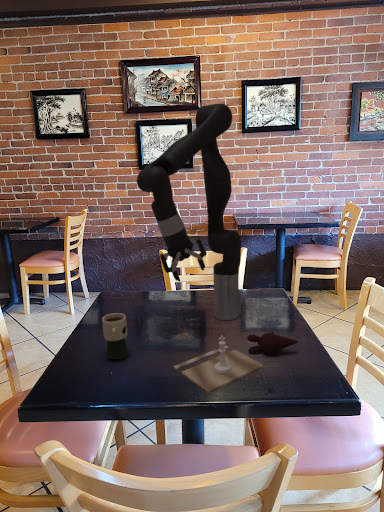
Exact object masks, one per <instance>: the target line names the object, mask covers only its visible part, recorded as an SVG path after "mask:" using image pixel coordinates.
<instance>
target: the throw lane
mask: <svg viewBox="0 0 384 512" xmlns="http://www.w3.org/2000/svg"><path fill="white" fill-rule="evenodd" d="M224 348H225V349H226V350H228V349H230V346H228V345H225V347H224ZM219 349H220V347H218V348H216V349H213V350H211V351H208V352H206V353H203V354H201V355H197V356H196V357H194V358H191V359H188V360H186V361H183V362H181V363H178V364H175V365H173V368H174V369H175V370H179V369H181V368H184V367H185V366H188V365H191V364H193V363H195V362H198V361H200V360H203V359H205V358H208V357H210V356H212V355H215V354H218V353H220V352H219V351H218V350H219ZM224 356H225V362H227V363H229V364H230V365H231V370H230V371H229V372H226V373H219V372H216V371H215V370H214V365H215V364H216V363H218V362H220V355H219V356H216V357H213V358H210V359H209V360H206V361H204V362H202V363H198V364H197V365H195V366H192V367H189V368H188V369H184V370H182V371H181V374H182V375H183V376H184V377H185V378H187V379H188V380H190V381H191V382H192V383H193V384H195V385H196V384H197V385H196V386H198V387H199V388H200V387H201V388H200V389H201V390H203V391H204V390H205V391H204V392H205V393H207V394H211V393H212V391H213V392H214V391H217V390H218V389H220V388H223V387H225V386H227V385H229V384H231V383H233V382H236V381H238V380H240V379H242V378H245V377H246V376H248V375H250V374H253V373H254V372H256V371H259V370H260V369H263V368H264V365H263V364H262V363H260V362H258V361H256V360H254V359H253V358H251V357H250V356H248V355H246V354H243V353H242V352H240V351H239V350H237V349H233V350H230V351H228V352H224ZM210 392H211V393H210Z"/></svg>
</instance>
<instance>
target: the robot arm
mask: <svg viewBox="0 0 384 512" xmlns="http://www.w3.org/2000/svg"><path fill="white" fill-rule="evenodd" d="M232 122H233V113H232V109H231V108H230V107H229V106H228V105H227V104H225V103H219V102H218V103H213V104H208V105H207V104H206V105H203V106H200V107H199V108H198V110H197V111H196V114H195V129H193V130H191V131H190V132H188V133H187V134H185V135H184V136H181V138H179V139H178V140H176V141H174V142H173V143H172V144H171V145H170V146H169V147H168V148H167V149H166V150H165V151H163V153H162V154H161V155H160V156H159V157H157V158H156V159H154V160H153V161H151V162H150V163H149V164H147V165H146V166H144V168H143V169H141V170H140V171H139V173H138V174H137V177H136V184H137V187H138V189H140V191H142V192H144V193H152V195H153V196H152V197H153V201H152V202H151V205H150V206H151V209H152V213H153V214H154V218H155V220H156V223H157V227H158V229H159V231H160V232H159V233H160V234H161V237H162V239H163V242H164V244H165V247H166V248H167V252H165V253H160V254H159V258H160V261H161V264H162V267H163V270H164V271H165V272H166V273H167V274H169V273H172V277H173V278H174V280H175V281H176V282H177V281H178V282H179V283H180V282H181V281H182V280H181V278H180V276H179V274H178V272H177V266H178V265H179V262H182V261H184V260H186V259H190V257H191V256H192V257H193V258H196V260H197V263H198V265H199V267H200V270H201V271H202V272H203V271H205V269H206V265H205V261H204V257H206V256H207V255H208V254H207V251H206V249H205V247H204V245H203V242H202V241H201V239H200V238H198V237H195V239H194V240H192V241H191V240H190V237H189V234H188V232H187V230H186V227H185V223H184V222H183V219H182V217H181V215H180V214H179V211H178V209H177V206H176V203H175V201H174V198H173V197H174V195H173V189H172V183H171V179H170V176H172V175H175V174H176V173H178V172H179V171H180V170H181V169H182V168H183V167H184V166H185V165H186V164H187V163H188V162H189V161H190V160H191V159H192V158H193V157H194V156H195V155H196V154H198V153H199V152H200V154H201V162H202V163H201V164H202V170H203V182H204V192H205V198H206V199H205V200H206V212H207V243H208V247H209V249H210V250H211V252H213V253H215V254H219V255H222V261H219V262H217V263H214V265H213V267H212V268H213V269H212V270H213V306H214V307H213V309H214V313H213V314H214V318H215V319H218V320H221V321H232V320H235V319H237V318H239V316H241V309H242V308H241V307H242V306H241V300H242V297H241V295H242V294H241V293H242V292H241V291H240V289H239V288H240V287H239V286H240V285H239V269H240V265H241V258H242V257H241V256H242V238H241V235H240V233H239V232H238V231H236V230H233V229H227V228H225V225H224V214H225V210H226V208H227V205H228V204H229V201H230V199H231V195H232V190H233V189H232V177H231V176H232V175H231V172H230V169H229V166H228V165H227V163H226V161H225V160H224V157H223V156H222V154H221V152H220V150H219V146H218V140H217V138H219V137H220V136H221V135H223V134H224V133H226V132H227V131H228V130H229V129H230V127H231V126H232ZM194 246H195V247H198V249H199V251H200V253H198V252H195V251H193V249H194ZM168 257H170V258H171V263H170V264H171V265H170V266H168V262H167V261H168Z"/></svg>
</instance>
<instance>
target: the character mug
mask: <svg viewBox="0 0 384 512" xmlns="http://www.w3.org/2000/svg"><path fill="white" fill-rule="evenodd" d="M101 322H102V333H103V338H104V340H105V341H107V344H106V345H107V347H106V358H108V359H110V360H122V359H124V358H126V357H127V356H128V348H127V344H126V340H125V338H126V337H128V325H127V323H128V322H127V315H126V314H125V313H120V312H113V313H108V314H105V315H104V316H103V317H102V318H101Z"/></svg>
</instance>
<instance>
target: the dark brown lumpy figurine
mask: <svg viewBox="0 0 384 512" xmlns="http://www.w3.org/2000/svg"><path fill="white" fill-rule="evenodd" d="M246 340H247V341H248V342H251V343H257V345H252V346H251V347H249V348H248V353H249V354H257V353H260V352H261V351H262V352H263V353H265V354H267V355H268V354H269V355H273V354H274V355H277V352H280V351H281V350H284V349H286V348H289V347H291V346H293V345H295V344H298V343H299V342H298V340H296V339H293V338H289V337H285V336H283V335H282V336H281V335H280V334H279V335H278V334H275V333H274V331H270V332H265V333H263V334H262V335H261V336H259V335H256V334H255V333H254V334H248V336H247V337H246Z"/></svg>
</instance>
